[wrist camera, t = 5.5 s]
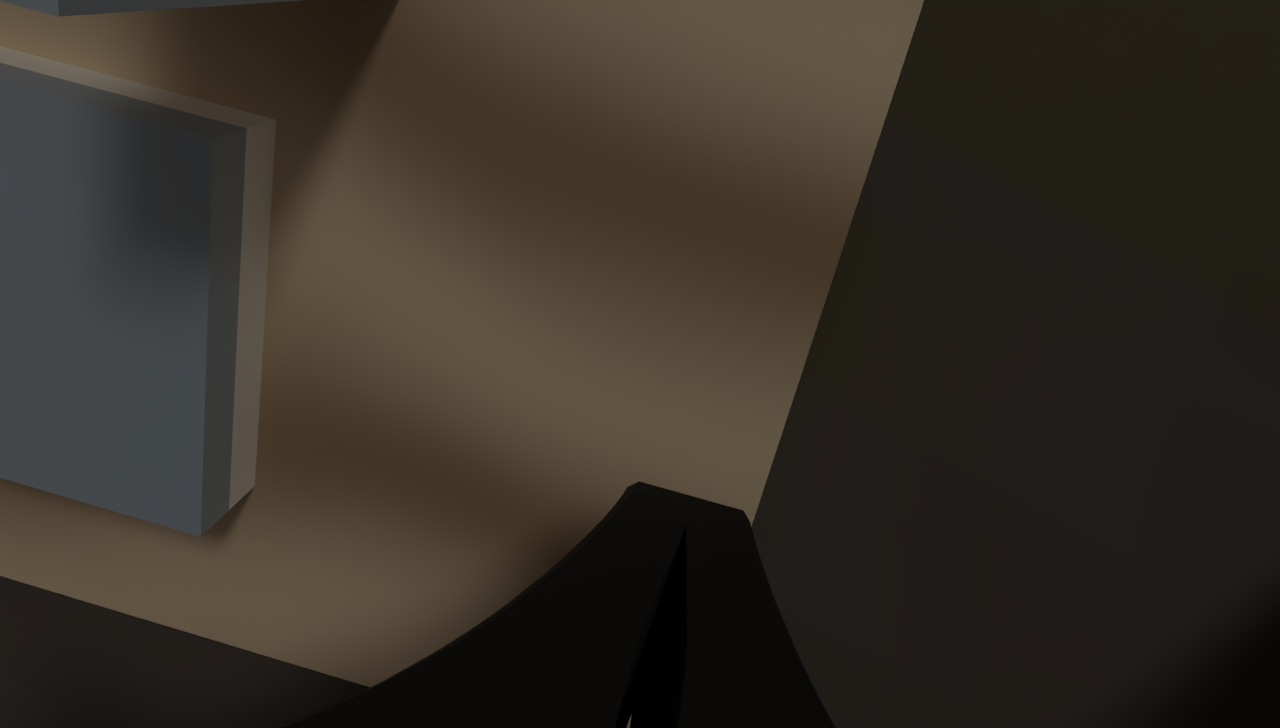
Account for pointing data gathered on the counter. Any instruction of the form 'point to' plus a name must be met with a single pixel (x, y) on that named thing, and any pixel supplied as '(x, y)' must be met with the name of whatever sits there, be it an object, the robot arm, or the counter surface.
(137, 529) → the cork mat
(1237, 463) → the counter surface
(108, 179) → the tile far
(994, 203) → the counter surface
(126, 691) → the counter surface
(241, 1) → the tile near
